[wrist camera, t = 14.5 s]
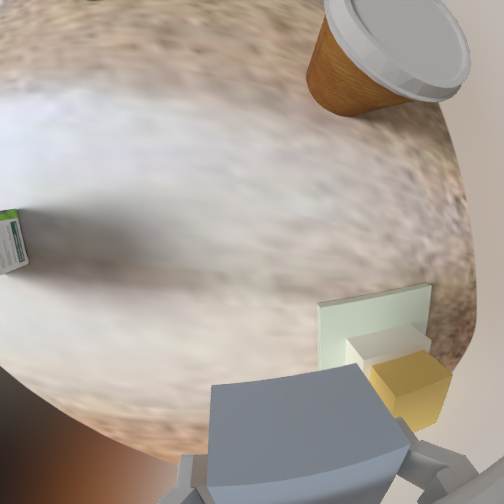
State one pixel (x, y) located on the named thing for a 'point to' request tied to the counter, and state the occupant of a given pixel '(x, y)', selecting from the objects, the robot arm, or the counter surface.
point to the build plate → (367, 319)
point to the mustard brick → (412, 388)
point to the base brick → (384, 346)
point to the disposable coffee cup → (386, 55)
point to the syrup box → (11, 242)
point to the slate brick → (302, 440)
